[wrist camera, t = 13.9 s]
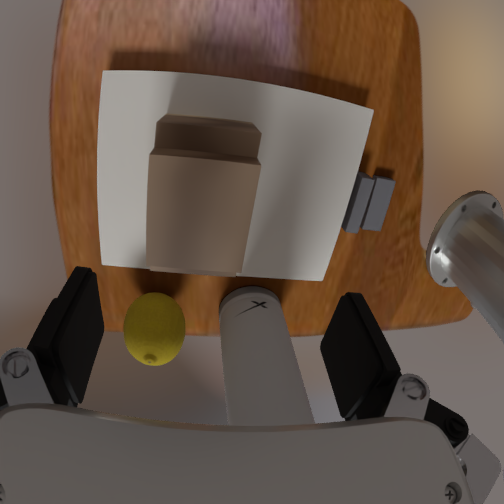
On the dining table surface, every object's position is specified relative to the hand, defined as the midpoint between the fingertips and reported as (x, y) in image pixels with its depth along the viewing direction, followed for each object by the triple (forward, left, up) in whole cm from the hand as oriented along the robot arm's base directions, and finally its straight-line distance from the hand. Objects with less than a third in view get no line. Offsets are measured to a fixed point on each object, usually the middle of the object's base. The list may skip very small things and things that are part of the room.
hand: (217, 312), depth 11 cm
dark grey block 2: (-10, -10, -14) cm, 21 cm away
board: (-1, -1, -15) cm, 15 cm away
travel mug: (-13, +6, -15) cm, 21 cm away
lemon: (-6, +12, -15) cm, 20 cm away
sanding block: (+1, +1, -14) cm, 14 cm away
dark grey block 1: (-9, -9, -14) cm, 19 cm away
